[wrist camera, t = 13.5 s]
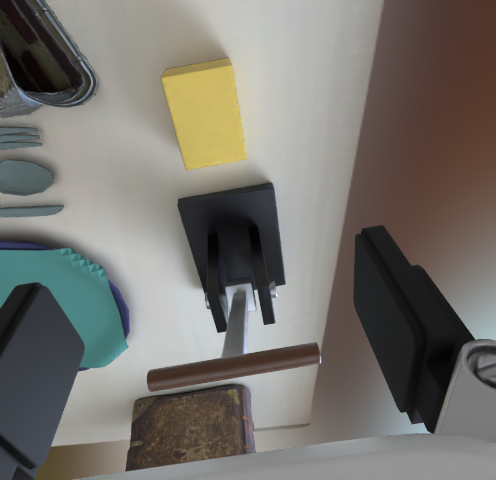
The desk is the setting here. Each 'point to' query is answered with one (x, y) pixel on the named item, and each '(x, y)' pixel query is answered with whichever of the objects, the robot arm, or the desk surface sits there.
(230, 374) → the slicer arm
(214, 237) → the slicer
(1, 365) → the robot arm
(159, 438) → the book
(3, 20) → the chocolate cake
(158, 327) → the desk surface
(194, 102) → the butter
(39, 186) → the cutlery set
